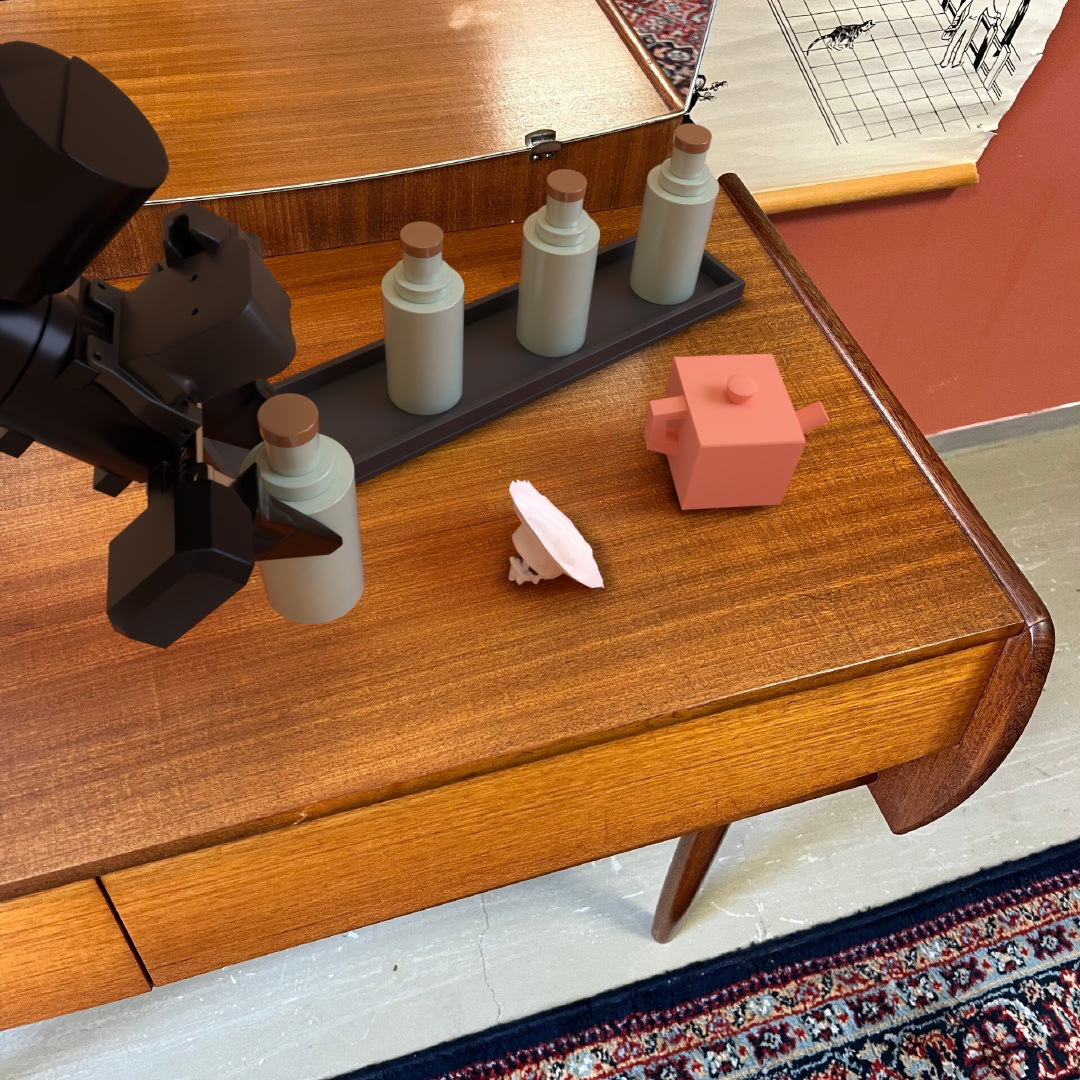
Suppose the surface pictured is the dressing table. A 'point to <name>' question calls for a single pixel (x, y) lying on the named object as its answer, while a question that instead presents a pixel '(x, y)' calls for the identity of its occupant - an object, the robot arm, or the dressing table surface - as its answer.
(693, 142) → the bottle far
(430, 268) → the bottle near
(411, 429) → the tray
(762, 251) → the dressing table surface
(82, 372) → the robot arm
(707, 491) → the pink cube teapot
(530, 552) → the pale pink ornate lid
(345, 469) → the bottle
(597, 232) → the bottle middle
